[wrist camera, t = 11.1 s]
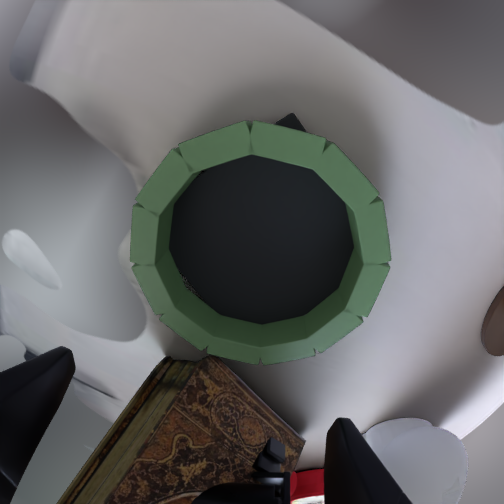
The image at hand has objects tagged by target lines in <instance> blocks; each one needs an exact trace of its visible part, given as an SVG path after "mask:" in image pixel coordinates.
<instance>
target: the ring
mask: <svg viewBox="0 0 504 504" xmlns="http://www.w3.org/2000/svg"><path fill="white" fill-rule="evenodd" d="M178 146H179V147H178V148H174V149H172V150H171V151H170V152H169V154H168V155H167V156H166V157H165V159H164V160H163V161H162V163H161V164H160V165H159V167H158V168H157V169H156V171H155V172H154V173H153V175H152V176H151V177H150V179H149V180H148V182H147V183H146V184H145V186H144V187H143V189H142V190H141V191H140V193H139V194H138V196H137V197H136V199H135V200H136V201H137V202H138V203H136V204H135V205H133V211H132V226H131V245H130V262H132V263H135V264H134V265H133V266H132V270H133V272H134V274H135V276H136V278H137V281H138V283H139V285H140V287H141V289H142V291H143V292H144V294H145V296H146V298H147V300H148V302H149V304H150V306H151V308H152V310H153V312H154V313H155V315H159V314H162V315H161V317H160V319H159V320H160V321H161V322H163V323H164V324H165V325H167V326H168V327H169V328H171V329H172V330H173V331H174V332H176V333H177V334H178V335H180V336H181V337H182V338H184V339H185V340H186V341H188V342H189V343H191V344H192V345H193V346H195V347H196V348H197V349H199V350H200V351H202V350H204V349H205V348H206V347H207V346H208V347H207V354H211V355H215V356H219V357H223V358H227V359H232V360H236V361H241V362H245V363H250V364H254V365H258V364H259V361H260V359H261V361H262V363H263V365H270V364H276V363H281V362H287V361H292V360H297V359H302V358H307V357H312V356H315V349H316V350H317V351H318V352H319V353H322V352H323V351H325V350H326V349H328V348H329V347H331V346H332V345H333V344H335V343H336V342H338V341H339V340H340V339H342V338H343V337H344V336H346V335H347V334H348V333H350V332H351V331H352V330H354V329H355V328H356V327H358V326H359V325H360V324H362V323H363V319H362V316H363V317H368V315H369V313H370V311H371V309H372V307H373V305H374V303H375V301H376V298H377V296H378V294H379V292H380V290H381V288H382V285H383V283H384V281H385V279H386V276H387V274H388V272H389V269H390V266H389V264H388V263H387V262H388V261H391V252H390V244H389V236H388V229H387V222H386V216H385V210H384V204H383V200H382V199H380V198H379V197H378V195H379V192H378V191H377V189H376V188H375V187H374V186H373V185H372V184H371V183H370V181H369V180H368V179H367V178H366V177H365V176H364V175H363V173H362V172H361V171H360V170H359V169H358V168H357V167H356V166H355V165H354V164H353V162H352V161H351V160H350V159H349V158H348V157H347V156H346V155H345V154H344V153H343V152H342V151H341V150H340V149H339V148H338V147H337V146H336V145H335V144H334V143H333V142H330V141H326V138H324V137H321V136H317V135H314V134H310V133H306V132H303V131H299V130H295V129H291V128H287V127H283V126H279V125H274V124H270V123H266V122H261V121H256V120H254V121H253V124H251V122H250V121H242V122H239V123H236V124H233V125H230V126H227V127H224V128H221V129H218V130H215V131H212V132H209V133H206V134H204V135H201V136H198V137H196V138H193V139H190V140H188V141H185V142H182V143H180V144H178ZM251 154H252V155H257V156H261V157H266V158H270V159H274V160H278V161H282V162H286V163H290V164H294V165H298V166H302V167H306V168H309V169H313V170H314V171H315V172H316V173H317V174H318V175H319V176H320V177H321V178H322V179H323V180H324V181H325V182H326V183H327V184H328V185H329V186H330V187H331V188H332V189H333V190H334V191H335V193H336V194H337V195H338V196H339V197H340V198H341V199H342V200H343V201H344V202H345V204H346V209H347V213H348V218H349V223H350V228H351V233H352V238H353V243H354V249H353V252H352V255H351V257H350V260H349V263H348V265H347V268H346V270H345V273H344V276H343V278H342V281H341V283H340V286H339V288H338V289H337V290H336V291H335V292H333V293H332V294H331V295H330V296H329V297H327V298H326V299H325V300H324V301H322V302H321V303H320V304H319V305H317V306H316V307H315V308H314V309H312V310H311V311H310V312H309V313H307V314H306V315H305V316H300V317H296V318H291V319H287V320H282V321H277V322H273V323H268V324H263V325H261V324H256V323H252V322H247V321H243V320H239V319H235V318H230V317H226V316H222V315H220V314H218V313H217V312H216V311H215V310H213V309H212V308H211V307H209V306H208V305H207V304H206V303H204V302H203V301H202V300H201V299H199V298H198V297H197V296H196V295H194V294H193V293H192V292H191V291H189V290H188V289H187V288H186V287H185V284H184V282H183V280H182V278H181V276H180V273H179V271H178V269H177V267H176V264H175V262H174V260H173V257H172V255H171V253H170V251H169V240H170V231H171V223H172V215H173V207H174V203H175V202H176V201H177V200H178V198H179V197H180V196H181V195H182V193H183V192H184V191H185V190H186V189H187V187H188V186H189V185H190V184H191V182H192V181H193V180H194V179H195V178H196V177H197V175H198V174H199V173H200V172H201V171H202V170H204V169H207V168H210V167H213V166H216V165H219V164H222V163H225V162H228V161H231V160H235V159H238V158H241V157H244V156H247V155H251Z"/></svg>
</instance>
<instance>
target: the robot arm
mask: <svg viewBox="0 0 504 504" xmlns="http://www.w3.org/2000/svg"><path fill="white" fill-rule="evenodd" d="M74 373H75V362H74V357H73V353H72V351H71V350H70V349H68V348H66V347H63V346H60V347H57V348H55V349H53V350H51V351H48V352H46V353H44V354H42V355H39V356H37V357H35V358H32V359H30V360H28V361H25V362H23V363H21V364H19V365H16V366H14V367H12V368H9V369H7V370H5V371H2V372H0V504H10V502H11V500H12V498H13V496H14V493H15V491H16V489H17V486H18V484H19V482H20V480H21V478H22V476H23V474H24V472H25V470H26V468H27V466H28V463H29V462H30V460H31V458H32V456H33V454H34V452H35V450H36V448H37V446H38V444H39V442H40V440H41V439H42V437H43V435H44V433H45V431H46V429H47V427H48V426H49V424H50V422H51V420H52V419H53V417H54V415H55V413H56V412H57V410H58V408H59V406H60V404H61V402H62V400H63V397H64V395H65V393H66V390H67V388H68V386H69V384H70V382H71V379H72V377H73V375H74ZM284 461H285V445H284V444H282V443H281V442H279V441H277V440H276V439H274V438H272V437H270V438H269V440H268V441H267V443H266V445H265V447H264V449H263V451H261V452H260V453H259V454H258V456H257V458H256V460H255V462H254V463H253V465H252V468H254V469H255V470H257V471H255V472H254V473H253V474H252V475H251V477H252V478H254V479H255V480H257V481H259V482H260V483H262V484H252V483H239V482H227V483H223V484H219V485H215V486H213V487H211V488H209V489H207V490H205V491H204V492H202V493H201V494H200V495H199V496H197V497H196V498H195V499H194V500H193V501H192V503H191V504H291V498H290V471H284V472H280V466H281V463H284ZM275 491H276V492H278V493H280V496H275ZM324 504H413V503H412V502H411V501H410V500H409V498H408V497H407V496H406V494H405V493H404V492H403V490H402V489H401V488H400V486H399V485H398V484H397V482H396V481H395V480H394V478H393V477H392V476H391V474H390V473H389V471H388V470H387V469H386V467H385V466H384V465H383V463H382V462H381V461H380V459H379V458H378V456H377V455H376V454H375V452H374V451H373V450H372V448H371V447H370V446H369V444H368V443H367V441H366V440H365V439H364V437H363V436H362V435H361V433H360V432H359V430H358V429H357V428H356V426H355V425H354V423H353V422H352V421H351V420H350V419H349V418H337V419H336V420H335V422H334V423H333V425H332V426H331V428H330V429H329V430H328V433H327V437H326V451H325V463H324Z"/></svg>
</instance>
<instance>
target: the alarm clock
mask: <svg viewBox="0 0 504 504" xmlns="http://www.w3.org/2000/svg"><path fill="white" fill-rule="evenodd" d="M290 498H291V504H324V469H317V470H309V471H304V472H300V473H296V472H294V471H293V473H292V475H291V477H290Z"/></svg>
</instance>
